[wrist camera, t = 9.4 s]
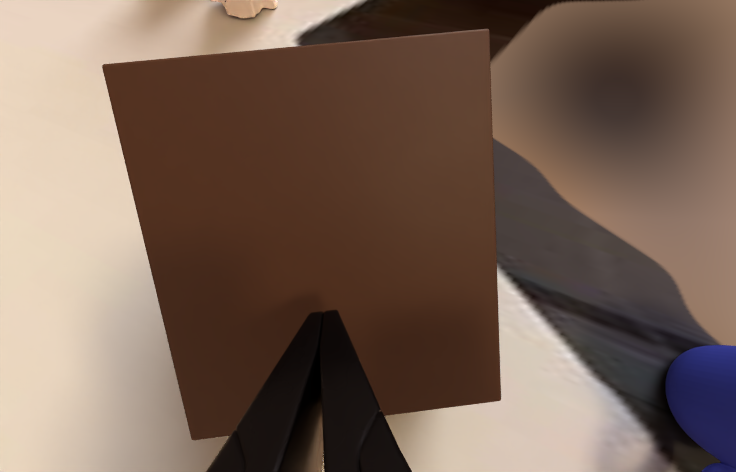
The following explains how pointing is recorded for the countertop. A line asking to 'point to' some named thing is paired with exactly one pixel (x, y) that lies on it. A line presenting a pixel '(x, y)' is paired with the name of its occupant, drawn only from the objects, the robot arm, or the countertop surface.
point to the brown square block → (319, 213)
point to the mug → (706, 400)
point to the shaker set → (246, 7)
